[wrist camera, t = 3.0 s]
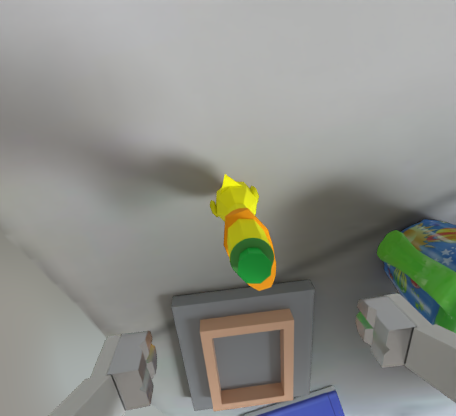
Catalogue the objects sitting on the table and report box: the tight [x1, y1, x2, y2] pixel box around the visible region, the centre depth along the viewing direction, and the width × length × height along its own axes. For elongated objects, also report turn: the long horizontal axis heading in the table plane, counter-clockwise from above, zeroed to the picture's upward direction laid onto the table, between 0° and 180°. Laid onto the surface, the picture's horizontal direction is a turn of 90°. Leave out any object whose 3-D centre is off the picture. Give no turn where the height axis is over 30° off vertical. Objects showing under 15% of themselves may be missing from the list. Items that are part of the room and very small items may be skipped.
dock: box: [171, 280, 315, 411], centre depth 28 cm, size 14×16×3 cm
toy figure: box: [210, 174, 276, 291], centre depth 17 cm, size 7×4×12 cm, turn 20°
